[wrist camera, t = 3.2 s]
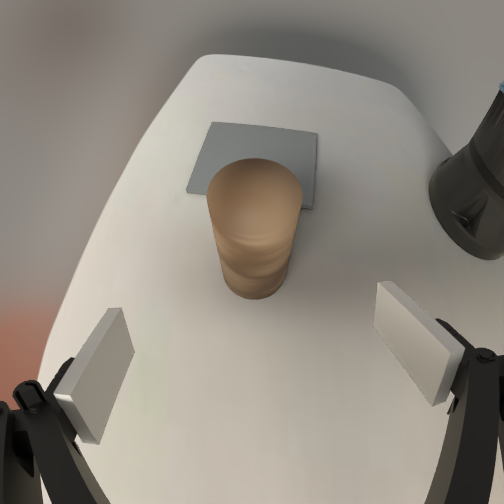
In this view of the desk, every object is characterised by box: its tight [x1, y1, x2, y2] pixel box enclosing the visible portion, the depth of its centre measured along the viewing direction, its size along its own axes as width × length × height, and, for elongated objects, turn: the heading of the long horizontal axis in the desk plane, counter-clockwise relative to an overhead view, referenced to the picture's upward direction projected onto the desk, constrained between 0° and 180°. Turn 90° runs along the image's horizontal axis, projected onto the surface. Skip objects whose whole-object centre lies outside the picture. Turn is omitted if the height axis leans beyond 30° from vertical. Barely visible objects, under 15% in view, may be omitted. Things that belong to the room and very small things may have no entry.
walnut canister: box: [207, 158, 303, 299], centre depth 24 cm, size 6×6×12 cm
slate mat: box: [186, 122, 317, 209], centre depth 36 cm, size 14×12×1 cm
